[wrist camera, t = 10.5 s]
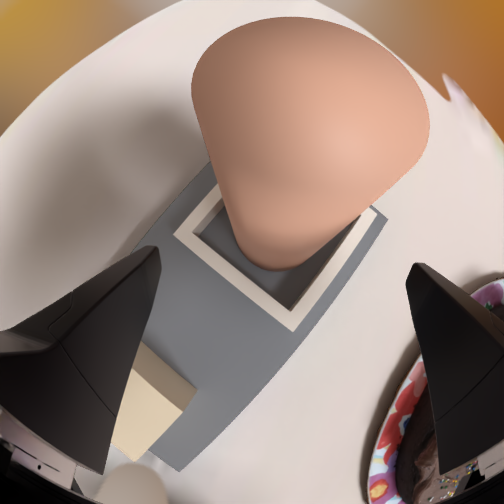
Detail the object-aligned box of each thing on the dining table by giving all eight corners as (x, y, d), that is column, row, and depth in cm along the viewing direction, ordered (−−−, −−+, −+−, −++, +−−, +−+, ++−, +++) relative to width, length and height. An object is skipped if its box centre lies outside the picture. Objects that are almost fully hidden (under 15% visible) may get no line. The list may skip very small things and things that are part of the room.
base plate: (379, 224, 19) (416, 199, 14) (183, 462, 16) (164, 502, 11) (251, 131, 21) (251, 84, 15) (68, 357, 18) (23, 367, 12)
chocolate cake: (451, 531, 13) (474, 553, 6) (291, 491, 16) (302, 543, 10) (562, 351, 17) (594, 352, 10) (471, 219, 20) (518, 196, 13)
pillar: (316, 274, 17) (449, 208, 4) (232, 268, 17) (168, 182, 5) (318, 194, 18) (400, 38, 5) (238, 188, 18) (211, 14, 5)
